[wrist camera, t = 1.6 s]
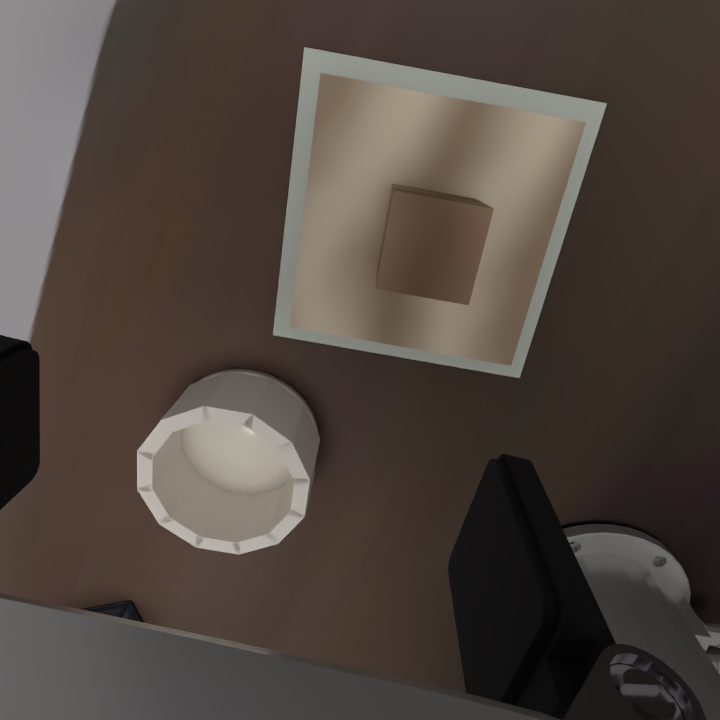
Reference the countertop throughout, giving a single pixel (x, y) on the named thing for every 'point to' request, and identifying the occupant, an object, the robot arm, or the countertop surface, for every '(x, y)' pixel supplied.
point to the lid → (427, 218)
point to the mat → (437, 85)
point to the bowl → (231, 462)
